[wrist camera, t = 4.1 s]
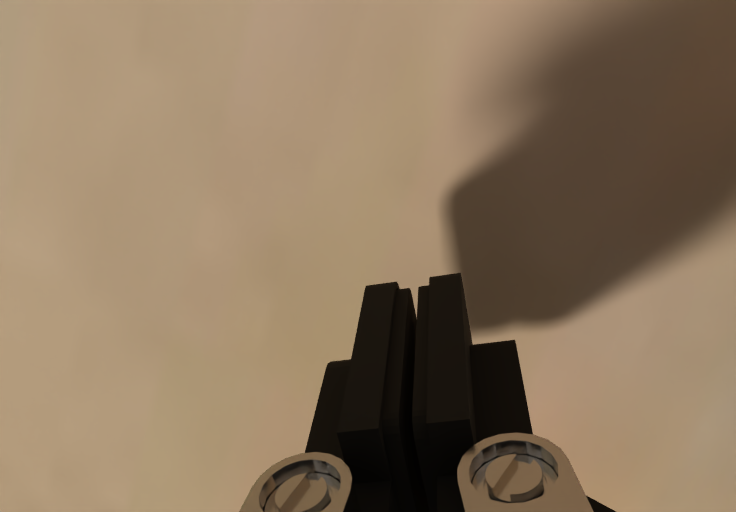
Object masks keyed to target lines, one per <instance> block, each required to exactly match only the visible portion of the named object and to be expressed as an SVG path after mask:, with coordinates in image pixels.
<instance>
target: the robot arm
mask: <svg viewBox="0 0 736 512" xmlns="http://www.w3.org/2000/svg"><path fill="white" fill-rule="evenodd" d="M239 512H616V511H614V510H612V509H610V508H608V507H606V506H605V505H603V504H601V503H599V502H597V501H595V500H593V499H592V498H590V497H588V496H586V495H585V493H584V491H583V489H582V486H581V484H580V482H579V480H578V478H577V476H576V474H575V472H574V470H573V468H572V465H571V463H570V461H569V459H568V458H567V456H566V455H565V454H564V452H563V451H562V450H561V448H559V447H558V446H556V445H555V444H554V443H552V442H551V441H549V440H547V439H545V438H542V437H539V436H536V435H533V433H532V427H531V422H530V417H529V412H528V406H527V401H526V396H525V390H524V385H523V380H522V374H521V369H520V364H519V358H518V353H517V348H516V343H515V340H510V341H501V342H493V343H484V344H476V345H472V339H471V332H470V326H469V320H468V314H467V308H466V301H465V295H464V289H463V283H462V277H461V273H457V274H449V275H442V276H435V277H430V279H429V285H428V286H421V287H419V288H418V307H417V319H416V314H415V309H414V303H413V298H412V294H411V290H410V288H406V289H399V286H398V283H397V282H391V283H384V284H376V285H369V286H366V288H365V292H364V297H363V302H362V307H361V312H360V317H359V322H358V327H357V332H356V337H355V343H354V348H353V353H352V358H351V359H350V360H342V361H333V362H329V363H328V365H327V367H326V371H325V375H324V379H323V383H322V387H321V391H320V395H319V399H318V403H317V407H316V411H315V415H314V419H313V422H312V426H311V430H310V434H309V438H308V442H307V446H306V450H305V453H301V454H298V455H294V456H291V457H288V458H285V459H283V460H282V461H280V462H278V463H276V464H274V465H272V466H271V467H270V468H269V469H267V470H266V471H265V472H264V473H263V474H262V475H260V477H259V478H258V479H257V481H256V482H255V484H254V485H253V486H252V488H251V490H250V492H249V494H248V496H247V497H246V499H245V501H244V503H243V505H242V507H241V509H240V511H239Z"/></svg>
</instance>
